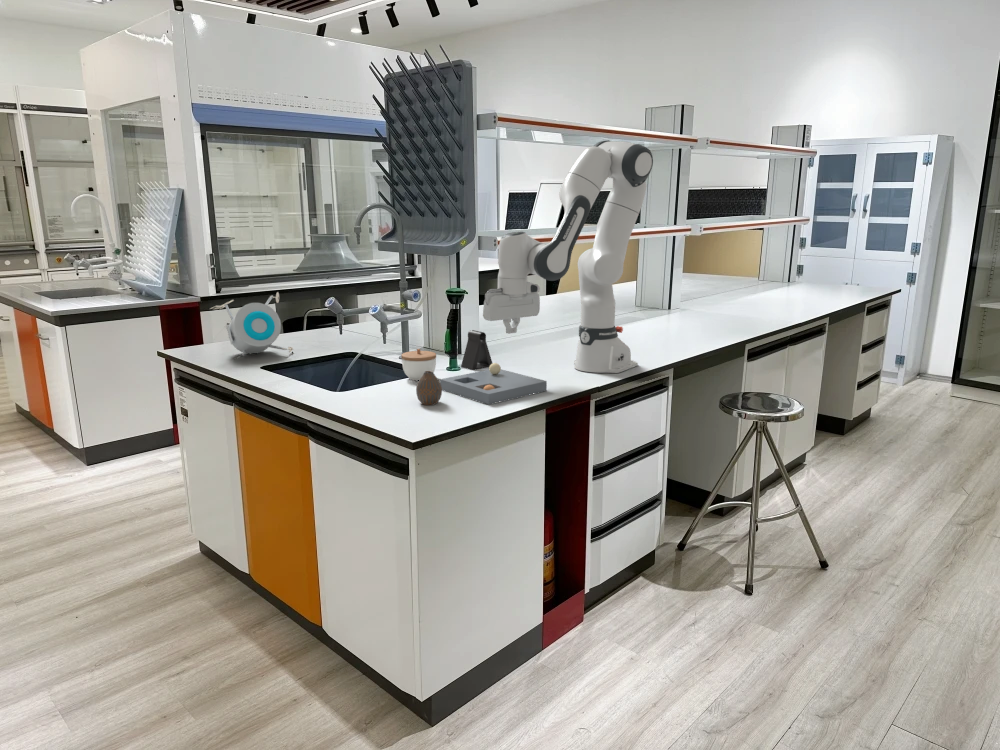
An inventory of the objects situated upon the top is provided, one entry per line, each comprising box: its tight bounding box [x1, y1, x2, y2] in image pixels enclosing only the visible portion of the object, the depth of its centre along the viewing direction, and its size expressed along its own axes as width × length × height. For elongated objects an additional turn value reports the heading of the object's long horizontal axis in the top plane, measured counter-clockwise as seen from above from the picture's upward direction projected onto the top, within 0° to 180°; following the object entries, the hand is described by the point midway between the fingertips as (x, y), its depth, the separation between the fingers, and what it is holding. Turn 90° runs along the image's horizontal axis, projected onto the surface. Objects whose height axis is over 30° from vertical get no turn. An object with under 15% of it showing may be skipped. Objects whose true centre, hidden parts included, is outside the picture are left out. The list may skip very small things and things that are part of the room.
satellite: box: [209, 291, 294, 359], centre depth 249 cm, size 23×20×25 cm
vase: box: [415, 371, 443, 406], centre depth 188 cm, size 7×7×9 cm
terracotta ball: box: [483, 385, 495, 390], centre depth 195 cm, size 4×4×4 cm
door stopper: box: [460, 329, 494, 371], centre depth 231 cm, size 9×6×12 cm, turn 131°
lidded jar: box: [400, 348, 437, 381], centre depth 215 cm, size 11×11×9 cm
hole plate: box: [439, 368, 548, 405], centre depth 202 cm, size 22×22×3 cm
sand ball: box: [488, 362, 501, 375], centre depth 208 cm, size 4×4×4 cm
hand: (511, 333), depth 210 cm, fingers closed
